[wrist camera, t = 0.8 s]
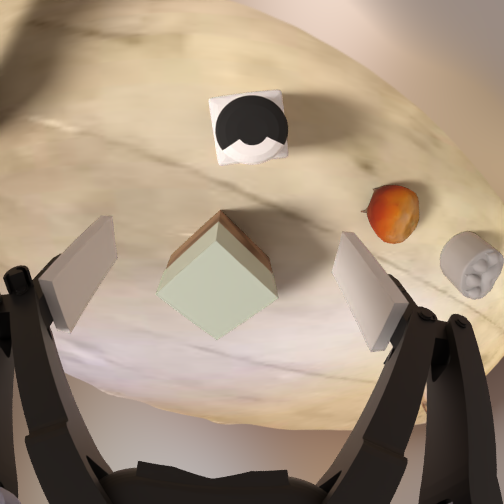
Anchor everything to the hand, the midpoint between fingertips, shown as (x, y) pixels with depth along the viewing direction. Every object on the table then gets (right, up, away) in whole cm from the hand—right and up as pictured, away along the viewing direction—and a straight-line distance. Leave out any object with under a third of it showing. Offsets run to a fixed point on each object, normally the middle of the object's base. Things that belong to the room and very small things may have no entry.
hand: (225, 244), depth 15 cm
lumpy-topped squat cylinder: (+42, -1, +28) cm, 50 cm away
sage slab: (-3, -3, +20) cm, 21 cm away
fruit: (+21, +6, +22) cm, 31 cm away
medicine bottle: (+1, +15, +16) cm, 22 cm away
